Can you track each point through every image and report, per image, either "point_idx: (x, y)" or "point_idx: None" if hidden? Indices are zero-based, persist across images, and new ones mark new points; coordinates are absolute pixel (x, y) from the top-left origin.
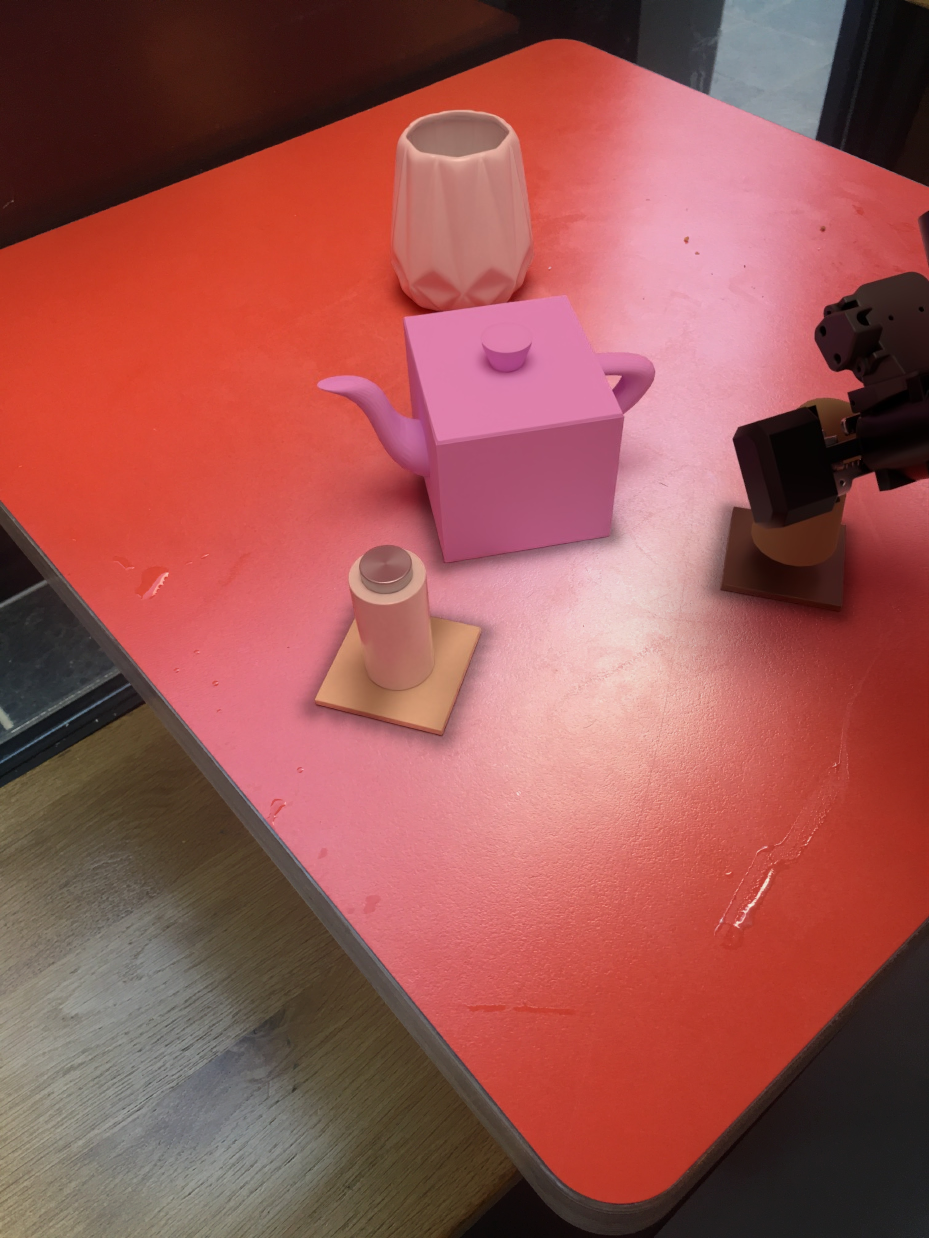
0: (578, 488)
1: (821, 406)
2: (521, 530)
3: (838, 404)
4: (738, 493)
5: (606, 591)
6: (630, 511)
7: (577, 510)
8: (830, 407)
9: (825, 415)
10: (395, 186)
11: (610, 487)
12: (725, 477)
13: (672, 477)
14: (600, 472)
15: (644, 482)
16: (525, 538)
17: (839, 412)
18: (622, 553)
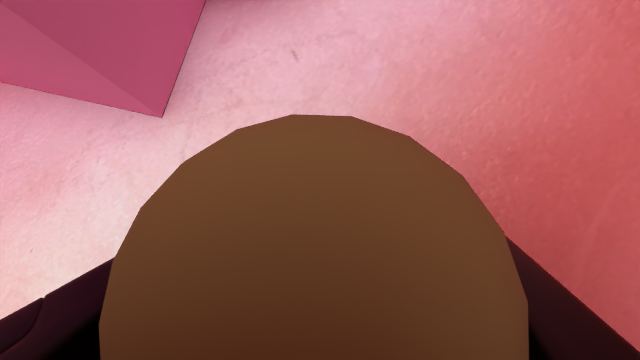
0: (24, 49)
1: (255, 224)
2: (16, 73)
3: (367, 259)
4: (391, 118)
5: (94, 209)
6: (218, 86)
7: (68, 77)
8: (296, 261)
9: (211, 313)
10: None
11: (82, 65)
12: (394, 78)
13: (317, 47)
14: (29, 37)
15: (272, 41)
16: (36, 83)
17: (307, 339)
18: (156, 155)
